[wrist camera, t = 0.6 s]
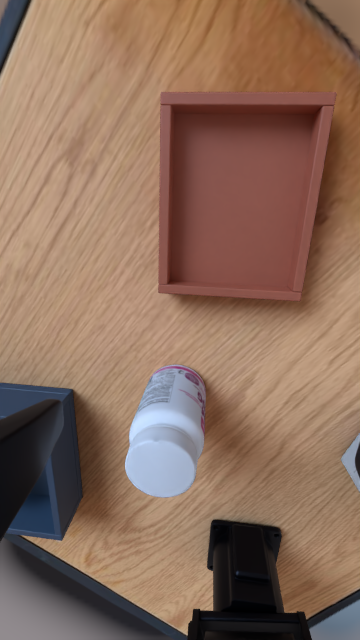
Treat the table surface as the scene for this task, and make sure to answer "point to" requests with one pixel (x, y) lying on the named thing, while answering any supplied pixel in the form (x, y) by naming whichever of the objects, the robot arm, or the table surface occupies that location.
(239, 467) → the table surface
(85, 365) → the table surface
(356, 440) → the cosmetic box
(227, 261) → the tray
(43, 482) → the box
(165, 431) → the pill bottle
